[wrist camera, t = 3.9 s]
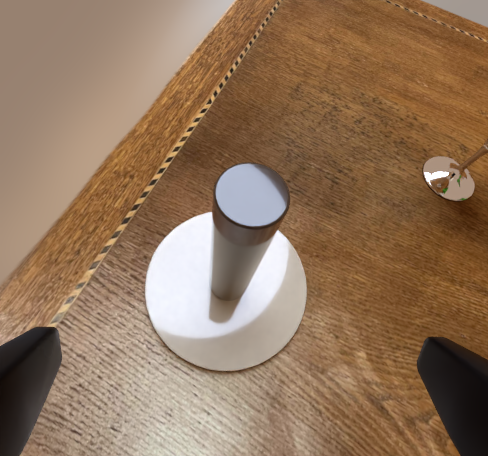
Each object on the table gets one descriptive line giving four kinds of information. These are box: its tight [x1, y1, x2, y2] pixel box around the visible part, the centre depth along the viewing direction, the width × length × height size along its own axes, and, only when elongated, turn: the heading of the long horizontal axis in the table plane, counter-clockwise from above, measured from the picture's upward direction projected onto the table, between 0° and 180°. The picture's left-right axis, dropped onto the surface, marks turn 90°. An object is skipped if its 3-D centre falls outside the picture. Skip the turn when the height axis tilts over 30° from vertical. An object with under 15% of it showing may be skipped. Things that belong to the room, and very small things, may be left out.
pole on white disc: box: [145, 162, 307, 371], centre depth 14 cm, size 10×10×11 cm
